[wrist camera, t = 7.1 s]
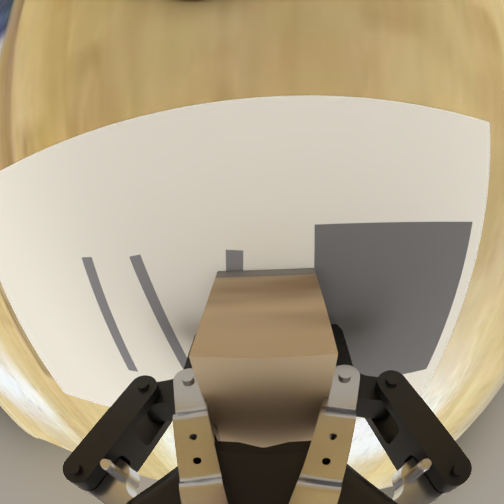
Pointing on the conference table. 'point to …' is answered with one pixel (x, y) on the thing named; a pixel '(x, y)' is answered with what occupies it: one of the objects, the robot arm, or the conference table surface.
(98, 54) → the conference table surface
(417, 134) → the board
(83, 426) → the conference table surface
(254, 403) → the block
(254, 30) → the conference table surface
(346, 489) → the robot arm
